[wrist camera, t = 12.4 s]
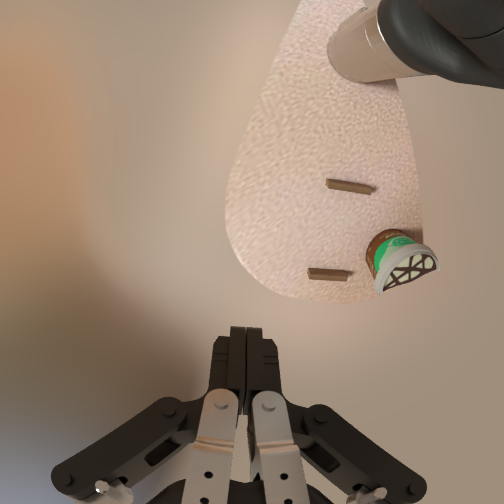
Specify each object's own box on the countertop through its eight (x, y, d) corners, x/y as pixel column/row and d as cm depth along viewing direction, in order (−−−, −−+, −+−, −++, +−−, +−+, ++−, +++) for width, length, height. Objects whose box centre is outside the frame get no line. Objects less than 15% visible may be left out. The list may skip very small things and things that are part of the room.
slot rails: (326, 178, 40) (330, 182, 38) (367, 185, 40) (371, 189, 39) (307, 272, 48) (309, 279, 46) (343, 275, 49) (346, 281, 47)
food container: (413, 214, 43) (443, 239, 34) (415, 242, 46) (442, 271, 37) (353, 235, 45) (375, 266, 36) (358, 263, 48) (378, 297, 39)
